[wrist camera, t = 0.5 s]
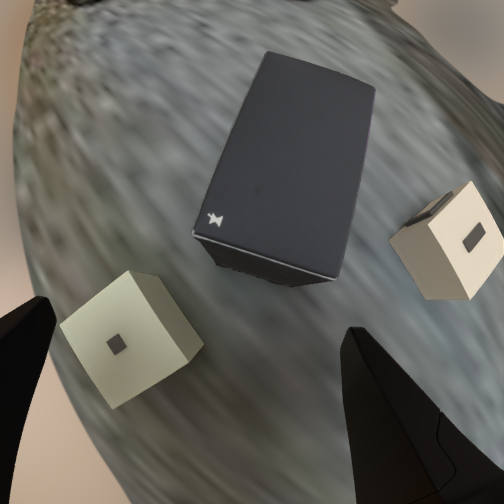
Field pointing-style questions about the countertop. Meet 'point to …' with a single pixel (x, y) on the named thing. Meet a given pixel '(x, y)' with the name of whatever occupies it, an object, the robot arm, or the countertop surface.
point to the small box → (288, 174)
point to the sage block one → (131, 336)
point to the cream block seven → (450, 245)
